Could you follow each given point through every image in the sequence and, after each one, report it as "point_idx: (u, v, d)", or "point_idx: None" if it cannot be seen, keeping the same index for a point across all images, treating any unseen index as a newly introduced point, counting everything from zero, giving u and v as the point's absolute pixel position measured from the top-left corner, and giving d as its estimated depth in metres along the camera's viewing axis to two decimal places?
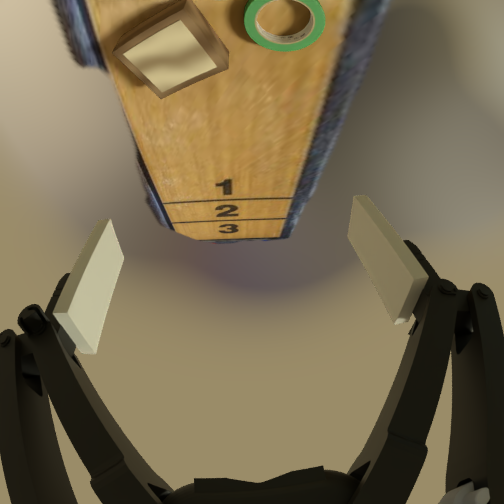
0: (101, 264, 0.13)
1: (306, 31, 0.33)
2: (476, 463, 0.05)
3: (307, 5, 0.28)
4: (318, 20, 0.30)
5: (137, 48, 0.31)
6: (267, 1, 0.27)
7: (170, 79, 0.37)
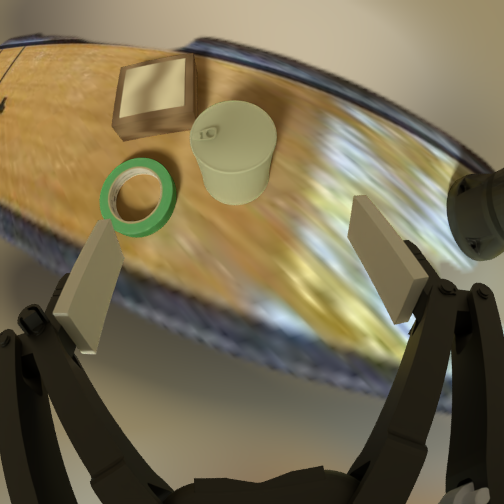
0: (101, 264, 0.13)
1: (116, 214, 0.38)
2: (476, 463, 0.05)
3: (146, 219, 0.37)
4: (126, 226, 0.37)
5: (181, 68, 0.37)
6: (162, 183, 0.38)
7: (132, 80, 0.37)
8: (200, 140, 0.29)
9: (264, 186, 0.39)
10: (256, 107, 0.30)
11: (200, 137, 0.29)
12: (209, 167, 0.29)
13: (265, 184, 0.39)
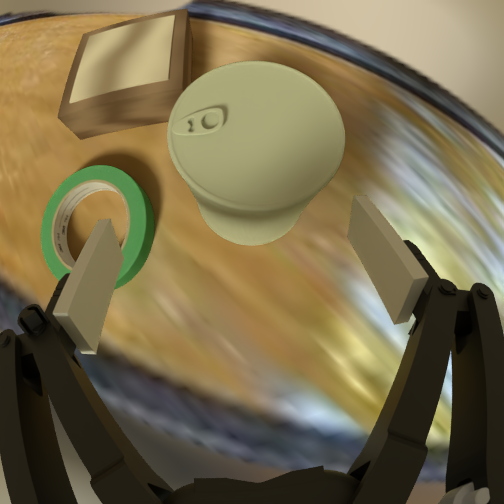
0: (101, 264, 0.13)
1: (64, 256, 0.23)
2: (476, 463, 0.05)
3: None
4: None
5: (167, 28, 0.22)
6: (130, 209, 0.22)
7: (96, 48, 0.21)
8: (188, 135, 0.14)
9: (298, 215, 0.24)
10: (301, 75, 0.14)
11: (190, 130, 0.14)
12: (207, 195, 0.13)
13: None
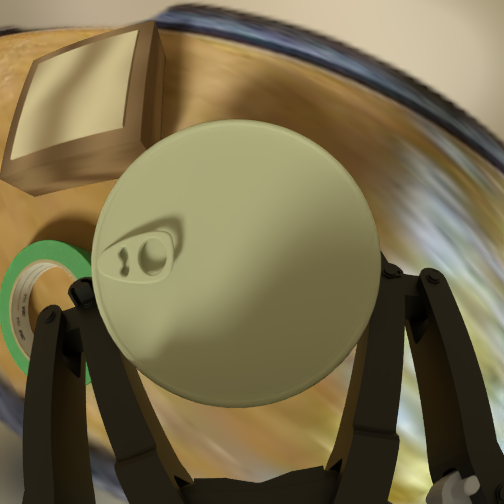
0: None
1: (26, 345, 0.17)
2: (457, 453, 0.05)
3: None
4: None
5: (127, 49, 0.17)
6: None
7: (43, 80, 0.16)
8: (121, 280, 0.08)
9: None
10: (312, 148, 0.09)
11: (124, 267, 0.08)
12: (159, 384, 0.08)
13: None
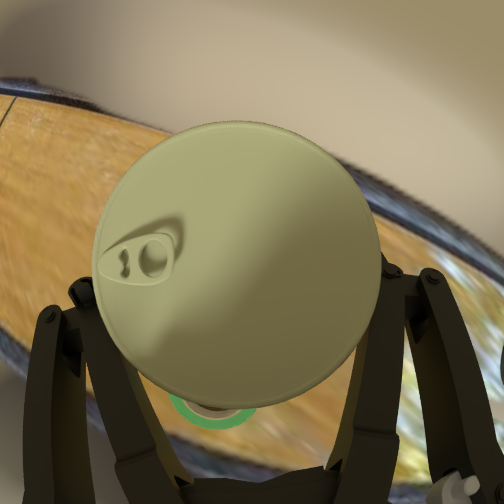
0: None
1: (191, 404, 0.32)
2: (457, 453, 0.05)
3: (231, 417, 0.31)
4: (207, 422, 0.31)
5: None
6: None
7: None
8: (122, 282, 0.08)
9: None
10: (313, 149, 0.09)
11: (125, 269, 0.08)
12: (160, 385, 0.08)
13: None
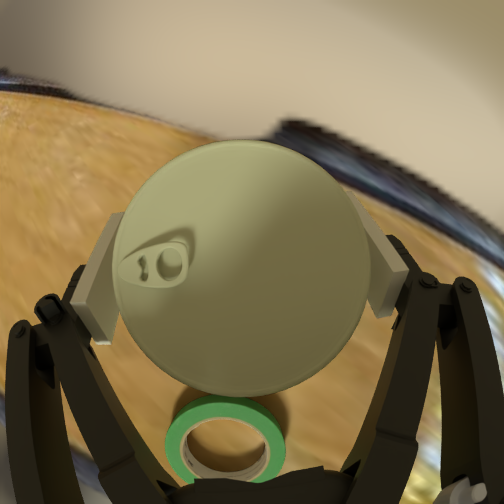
0: None
1: (196, 468, 0.22)
2: (470, 459, 0.05)
3: None
4: None
5: None
6: (269, 443, 0.22)
7: None
8: (140, 285, 0.09)
9: None
10: (310, 166, 0.10)
11: (142, 273, 0.10)
12: (174, 376, 0.09)
13: None
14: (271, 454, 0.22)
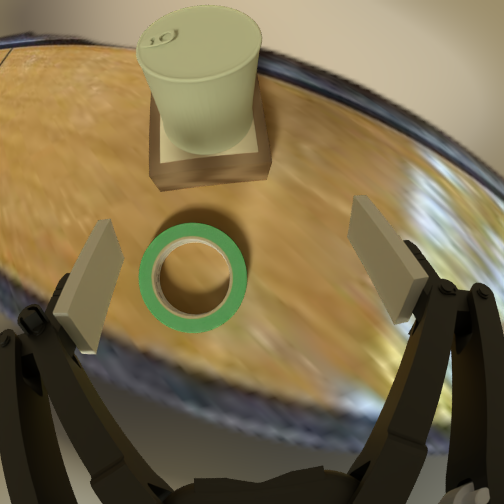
0: (101, 264, 0.13)
1: (165, 302, 0.29)
2: (476, 463, 0.05)
3: (212, 313, 0.29)
4: (184, 322, 0.28)
5: None
6: (231, 263, 0.29)
7: None
8: (150, 47, 0.16)
9: (246, 128, 0.27)
10: (233, 10, 0.17)
11: (151, 44, 0.16)
12: (158, 75, 0.16)
13: (247, 125, 0.27)
14: (233, 277, 0.29)
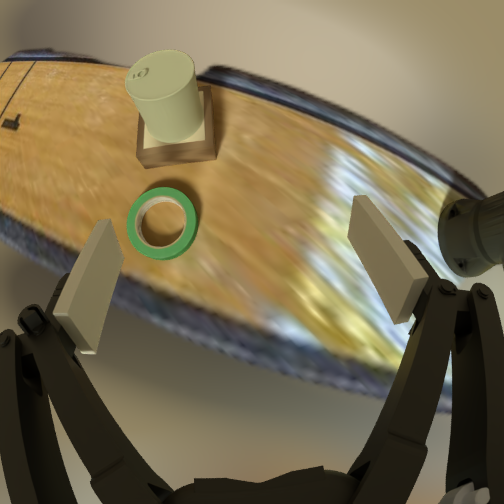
0: (101, 264, 0.13)
1: (143, 239, 0.43)
2: (476, 463, 0.05)
3: (172, 245, 0.43)
4: (153, 251, 0.42)
5: None
6: (186, 212, 0.43)
7: None
8: (132, 79, 0.30)
9: (197, 125, 0.41)
10: (181, 52, 0.31)
11: (133, 78, 0.31)
12: (136, 97, 0.30)
13: (198, 123, 0.41)
14: (187, 221, 0.43)
